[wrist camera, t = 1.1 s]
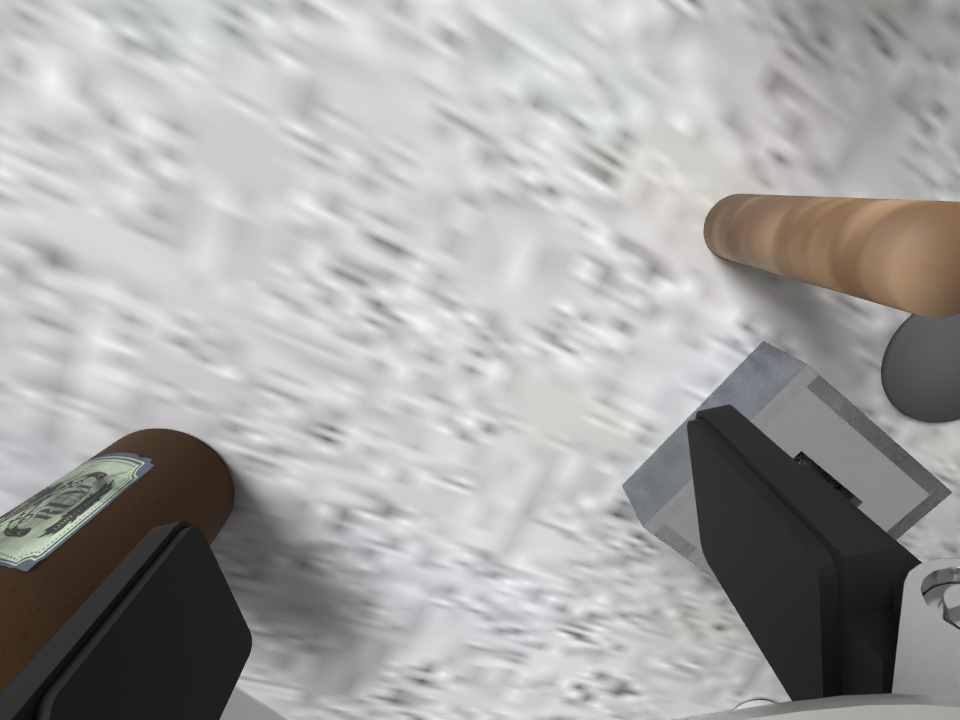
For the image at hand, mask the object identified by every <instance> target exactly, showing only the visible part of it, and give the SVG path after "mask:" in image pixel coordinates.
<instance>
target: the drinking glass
mask: <svg viewBox="0 0 960 720" xmlns="http://www.w3.org/2000/svg"><path fill="white" fill-rule="evenodd" d="M768 704H774V703H773V702H770V701H766V700H752V701H748V702H745V703H743V704H741V705H739V706H738V707H736V708H735V709H742V708H748V707H755V706H761V705H768ZM735 709H734V710H735Z"/></svg>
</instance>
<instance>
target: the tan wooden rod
mask: <svg viewBox="0 0 960 720" xmlns="http://www.w3.org/2000/svg"><path fill="white" fill-rule="evenodd" d="M704 239H705V242H706V244H707V246H708V248H709V249H710V250H711V251H712V252H713V253H714V254H715V255H717V256H719V257H721V258H724V259H728V260H731V261H734V262H738V263H741V264H745V265H748V266H752V267H755V268H758V269H762V270H765V271H769V272H772V273H776V274H779V275H782V276H786V277H789V278H793V279H796V280H800V281H803V282H806V283H810V284H813V285H817V286H820V287H824V288H827V289H830V290H834V291H837V292H841V293H844V294H848V295H851V296H854V297H858V298H861V299H865V300H868V301H872V302H875V303H878V304H882V305H885V306H889V307H892V308H896V309H899V310H902V311H906V312H909V313H913V314H916V315H920V316H923V317H928V318H943V317H949V316H953V315H956V314H959V313H960V202H949V201H921V200H894V199H866V198H838V197H811V196H783V195H755V194H735V195H731V196H728V197H726V198H723V199H722V200H720V201H719V202H718V203H716V205H715V206H714V207H713V208H712V209H711V210H710V212H709V214H708V215H707V218H706V220H705V224H704Z"/></svg>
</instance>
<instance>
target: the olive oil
mask: <svg viewBox="0 0 960 720" xmlns="http://www.w3.org/2000/svg"><path fill="white" fill-rule="evenodd" d="M233 502H234V487H233V482H232V479H231V476H230V474H229V472H228V470H227V468H226V466H225V464H224V463H223V462H222V460H221V459H220V458H219V457H218V455H217V454H216V453H215V452H214V451H213V450H212V449H210V448H209V447H208V446H207V445H205V444H204V443H202V442H201V441H199V440H197V439H196V438H194V437H192V436H189V435H187V434H184V433H181V432H178V431H174V430H168V429H145V430H140V431H137V432H134V433H131V434H129V435H127V436H125V437H123V438H121V439H119V440H118V441H116V442H115V443H113V444H112V445H110V446H109V447H107V448H106V449H104V450H103V451H101V452H100V453H98V454H97V455H95V456H94V457H93V458H91V459H90V460H88V461H87V462H85V463H83V464H81V465H80V466H79V467H77V468H76V469H74V470H73V471H71V472H70V473H68V474H67V475H65V476H63V477H62V478H60V479H59V480H57V481H56V482H54V483H53V484H51V485H50V486H48V487H46V488H45V489H43V490H42V491H40V492H39V493H37V494H35V495H34V496H32V497H31V498H29V499H28V500H26V501H25V502H23V503H21V504H20V505H18V506H17V507H15V508H14V509H12V510H11V511H9V512H7V513H6V514H4V515H3V516H1V517H0V695H1V693H2V692H3V691H4V690H5V689H6V688H7V687H8V686H9V685H10V684H11V682H12V681H13V680H14V679H15V678H16V677H17V676H18V675H19V674H20V673H21V671H22V670H23V669H24V668H25V667H26V666H27V665H28V664H29V663H30V662H31V661H32V659H33V658H34V657H35V656H36V655H37V654H38V653H39V652H40V651H41V650H42V648H43V647H44V646H45V645H46V644H47V643H48V642H49V641H50V640H51V639H52V637H53V636H54V635H55V634H56V633H57V632H58V631H59V630H60V629H61V628H62V626H63V625H64V624H65V623H66V622H67V621H68V620H69V619H70V618H71V617H72V615H73V614H74V613H75V612H76V611H77V610H78V609H79V608H80V607H81V606H82V604H83V603H84V602H85V601H86V600H87V599H88V598H89V597H90V596H91V595H92V593H93V592H94V591H95V590H96V589H97V588H98V587H99V586H100V585H101V584H102V582H103V581H104V580H105V579H106V578H107V577H108V576H109V575H110V574H111V573H112V571H113V570H114V569H115V568H116V567H117V566H118V565H119V564H120V563H121V562H122V560H123V559H124V558H125V557H126V556H127V555H128V554H129V553H130V552H131V551H132V550H133V548H134V547H135V546H136V545H137V544H138V543H139V542H140V541H141V540H142V539H143V537H144V536H145V535H146V534H147V533H148V532H149V531H150V530H151V529H153V528H154V527H158V526H162V525H167V524H172V523H176V522H181V521H188V522H190V523H191V524H192V525H193V526H196V527H199V528H200V529H201V530H202V531H203V533H204V535H205V537H206V539H207V541H208V544H209V546H210V545H211V543H212V542H213V540H214V539H215V537H216V536H217V534H218V533H219V531H220V530H221V528H222V527H223V525H224V524H225V522H226V520H227V519H228V517H229V515H230V512H231V510H232V507H233Z"/></svg>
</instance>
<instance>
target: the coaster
mask: <svg viewBox="0 0 960 720" xmlns="http://www.w3.org/2000/svg"><path fill="white" fill-rule="evenodd" d="M881 376H882V384H883V388H884V390H885V393H886V395H887V397H888V398H889V400H890V401H891V402H892V403H893V405H894V406H895V407H897V408H898V409H899V410H901V411H902V412H904V413H906V414H908V415H910V416H912V417H914V418H916V419H919V420H922V421H927V422H948V421H954V420H957V419H960V313H959V314H956V315H953V316H949V317H943V318H928V317H923V316H920V315H916V314H913V315H911V316H910V317H909V318H908V319H907V320H906V321H905V322H904V323H903V324H902V325H901V326H900V327H899V329H898V330H897V331H896V333H895V334H894V336H893V337H892V339H891V340H890V342H889V344H888V347H887V349H886V351H885V354H884V357H883V362H882V370H881Z"/></svg>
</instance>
